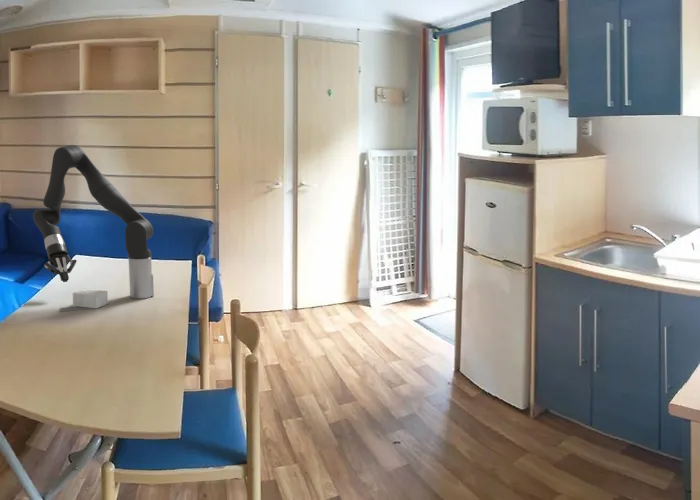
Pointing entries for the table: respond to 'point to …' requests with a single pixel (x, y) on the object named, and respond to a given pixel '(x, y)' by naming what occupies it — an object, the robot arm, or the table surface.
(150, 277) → the robot arm
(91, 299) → the small box
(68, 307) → the charcoal mat
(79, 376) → the table surface
